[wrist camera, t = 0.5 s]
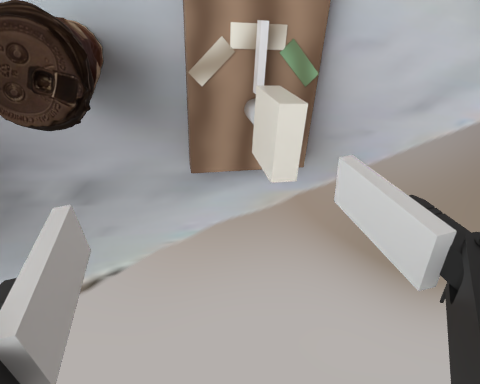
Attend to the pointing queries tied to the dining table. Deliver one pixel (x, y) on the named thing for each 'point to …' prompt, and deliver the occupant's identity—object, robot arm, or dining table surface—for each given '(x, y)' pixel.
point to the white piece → (275, 120)
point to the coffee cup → (45, 67)
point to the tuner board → (245, 71)
